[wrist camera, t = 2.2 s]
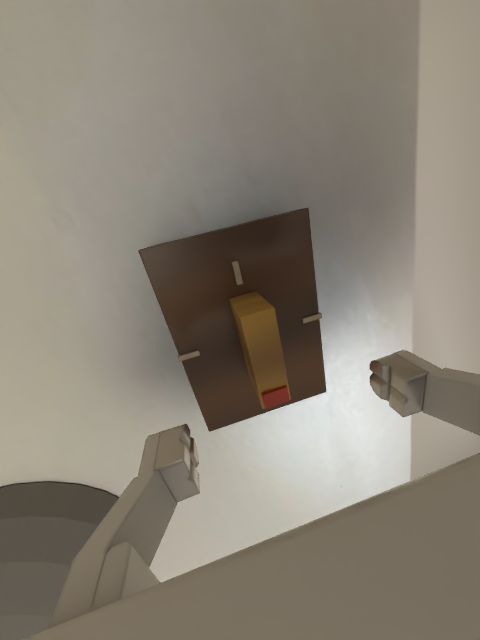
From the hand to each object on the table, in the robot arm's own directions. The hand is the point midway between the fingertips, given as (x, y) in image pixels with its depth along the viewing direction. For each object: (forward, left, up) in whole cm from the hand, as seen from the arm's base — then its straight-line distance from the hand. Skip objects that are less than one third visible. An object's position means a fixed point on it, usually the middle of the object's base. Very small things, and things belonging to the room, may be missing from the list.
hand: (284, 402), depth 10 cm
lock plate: (0, 0, -10) cm, 10 cm away
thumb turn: (0, 0, -6) cm, 6 cm away
